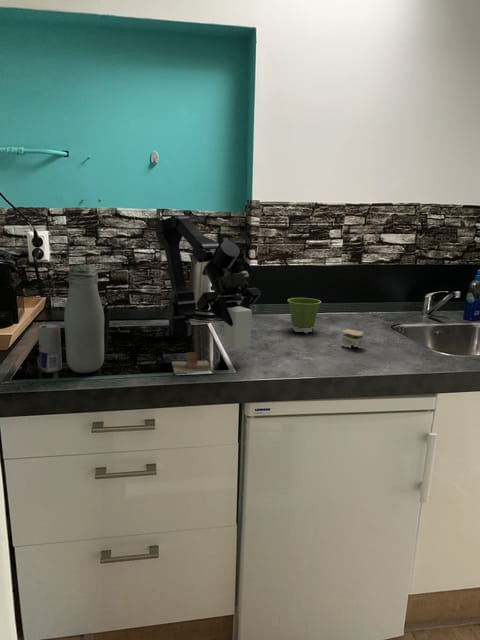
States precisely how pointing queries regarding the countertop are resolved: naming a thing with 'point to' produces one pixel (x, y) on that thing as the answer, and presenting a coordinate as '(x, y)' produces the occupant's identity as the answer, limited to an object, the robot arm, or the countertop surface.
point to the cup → (106, 328)
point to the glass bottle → (84, 321)
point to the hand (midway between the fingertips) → (240, 324)
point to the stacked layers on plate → (352, 336)
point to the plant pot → (303, 311)
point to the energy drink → (50, 348)
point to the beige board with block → (190, 365)
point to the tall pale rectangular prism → (238, 328)
